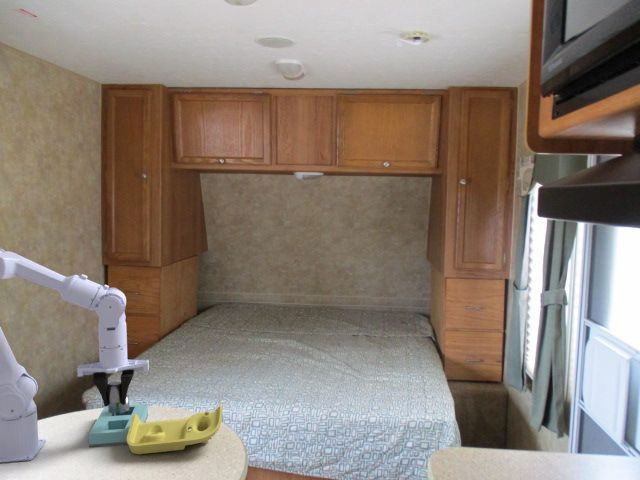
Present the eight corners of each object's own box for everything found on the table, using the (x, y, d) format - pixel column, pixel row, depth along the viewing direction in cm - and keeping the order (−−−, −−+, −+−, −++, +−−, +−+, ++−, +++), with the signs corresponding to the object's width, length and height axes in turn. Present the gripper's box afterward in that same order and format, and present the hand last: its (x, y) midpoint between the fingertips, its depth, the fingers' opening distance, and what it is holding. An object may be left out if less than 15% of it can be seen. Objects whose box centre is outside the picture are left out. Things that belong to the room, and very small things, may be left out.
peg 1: (109, 407, 112) (108, 382, 112) (123, 406, 113) (122, 381, 112) (107, 413, 109) (106, 387, 109) (121, 412, 110) (120, 386, 109)
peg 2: (114, 424, 118) (113, 399, 117) (119, 418, 121) (117, 394, 120) (127, 423, 118) (126, 399, 118) (131, 417, 121) (130, 394, 121)
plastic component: (124, 447, 103) (134, 408, 112) (132, 468, 107) (141, 429, 116) (220, 437, 105) (223, 399, 113) (225, 458, 108) (227, 420, 117)
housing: (89, 447, 109) (88, 434, 108) (105, 418, 122) (105, 406, 122) (137, 443, 110) (136, 430, 110) (147, 415, 124) (147, 403, 124)
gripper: (73, 352, 104) (76, 415, 105) (146, 347, 108) (148, 407, 109) (80, 342, 111) (82, 401, 112) (148, 338, 115) (150, 395, 116)
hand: (115, 403), depth 111 cm, fingers closed on peg 1, 3 cm apart
